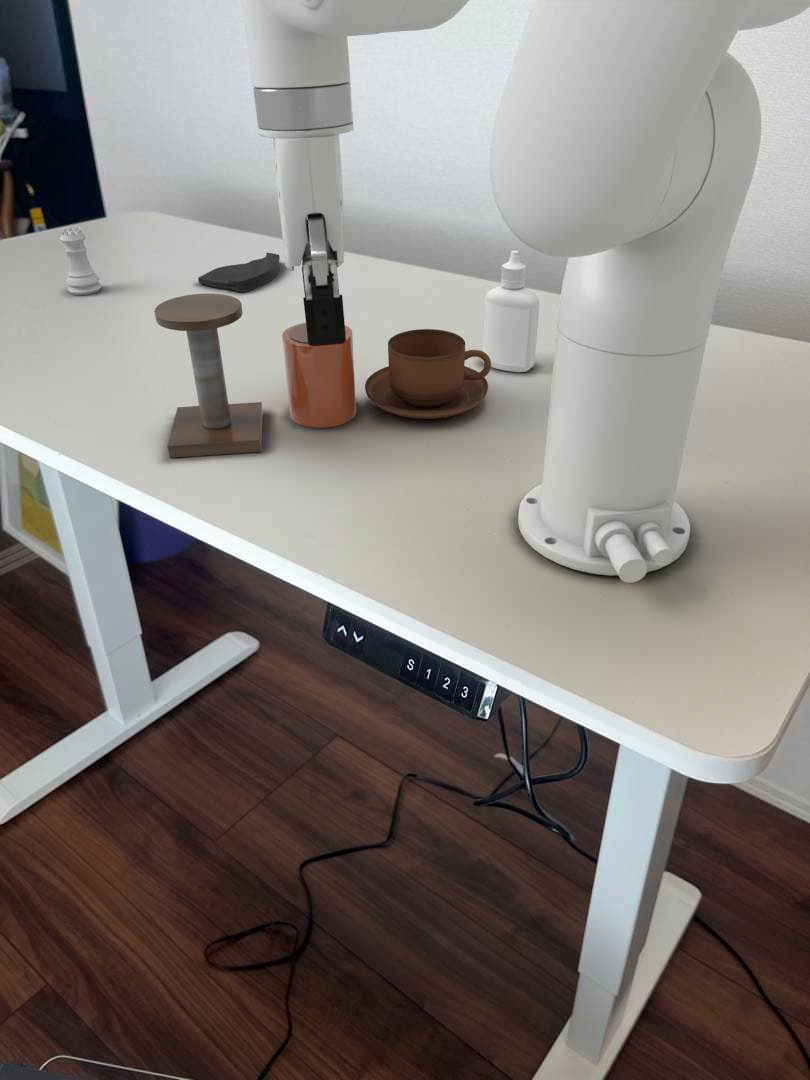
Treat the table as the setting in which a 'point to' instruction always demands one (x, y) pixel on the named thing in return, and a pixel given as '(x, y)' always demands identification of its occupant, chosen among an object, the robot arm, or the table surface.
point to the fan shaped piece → (243, 274)
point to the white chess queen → (79, 264)
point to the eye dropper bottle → (511, 320)
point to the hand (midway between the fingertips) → (325, 325)
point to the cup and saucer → (428, 376)
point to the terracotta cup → (319, 379)
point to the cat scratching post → (209, 381)
